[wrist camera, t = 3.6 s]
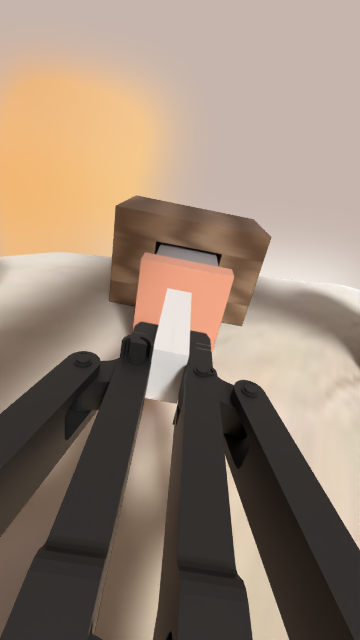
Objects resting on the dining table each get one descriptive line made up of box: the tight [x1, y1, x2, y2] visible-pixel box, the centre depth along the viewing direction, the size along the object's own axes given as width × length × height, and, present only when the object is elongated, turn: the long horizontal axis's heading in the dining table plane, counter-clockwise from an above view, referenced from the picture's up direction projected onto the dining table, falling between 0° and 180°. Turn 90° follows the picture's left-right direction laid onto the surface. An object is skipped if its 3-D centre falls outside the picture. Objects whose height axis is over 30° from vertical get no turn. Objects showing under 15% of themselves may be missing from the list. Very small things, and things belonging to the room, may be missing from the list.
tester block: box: [109, 196, 271, 326], centre depth 40 cm, size 18×12×12 cm, turn 87°
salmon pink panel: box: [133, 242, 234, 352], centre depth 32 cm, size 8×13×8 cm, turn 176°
